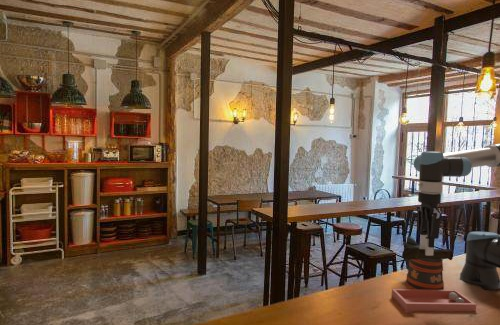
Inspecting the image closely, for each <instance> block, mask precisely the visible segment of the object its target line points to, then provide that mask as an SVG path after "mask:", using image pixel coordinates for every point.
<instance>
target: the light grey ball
mask: <svg viewBox="0 0 500 325" xmlns="http://www.w3.org/2000/svg"><path fill="white" fill-rule="evenodd" d="M456 298H458V295H457V294H456V293H454V292H451V293H449V299H450V300H452V301H455V300H456Z"/></svg>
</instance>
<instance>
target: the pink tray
mask: <svg viewBox="0 0 500 325" xmlns="http://www.w3.org/2000/svg"><path fill="white" fill-rule="evenodd" d="M451 292H454V293H456V294H457V295H458V298H462V299H463V300H464V302H465V303H456V302H455V301H452V300H450V299H449V293H451ZM391 299H392V300H393V301H394V302H395V303H396V305H398V306H399V307H400V308H401V309H402V311H404V313H406V314H416V312H415V311H423V312H424V311H426V312H427V311H429V312H430V311H432V312H433V311H434V312H435V311H437V312H442V311H443V312H455V311H456V312H477V304H476V303H475V302H474V301H472V300H470V299H469V298H468V297H467V296H466V295H464V294H462V293H461V292H459V291H458V290H456V289H444V290H426V289H411V288H409V289H408V288H405V289H404V288H392V289H391Z"/></svg>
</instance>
